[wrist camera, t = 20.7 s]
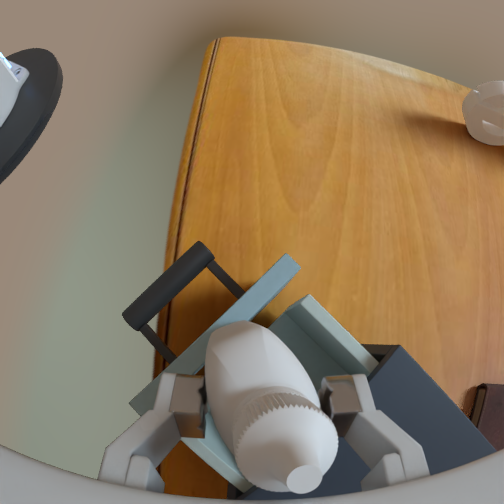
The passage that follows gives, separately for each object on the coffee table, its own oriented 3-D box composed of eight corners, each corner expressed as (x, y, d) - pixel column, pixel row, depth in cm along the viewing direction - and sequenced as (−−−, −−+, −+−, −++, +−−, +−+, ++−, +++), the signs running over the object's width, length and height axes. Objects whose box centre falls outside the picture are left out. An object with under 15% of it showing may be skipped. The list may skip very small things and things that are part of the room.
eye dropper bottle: (200, 414, 16) (179, 565, 4) (212, 315, 17) (201, 323, 5) (279, 422, 16) (368, 558, 4) (293, 325, 17) (427, 343, 6)
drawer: (121, 339, 24) (75, 339, 16) (230, 235, 26) (226, 195, 19) (289, 497, 21) (305, 547, 13) (393, 395, 23) (444, 411, 16)
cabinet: (230, 456, 23) (225, 512, 13) (347, 343, 25) (400, 344, 16) (348, 539, 20) (381, 594, 11) (446, 441, 23) (509, 465, 14)
